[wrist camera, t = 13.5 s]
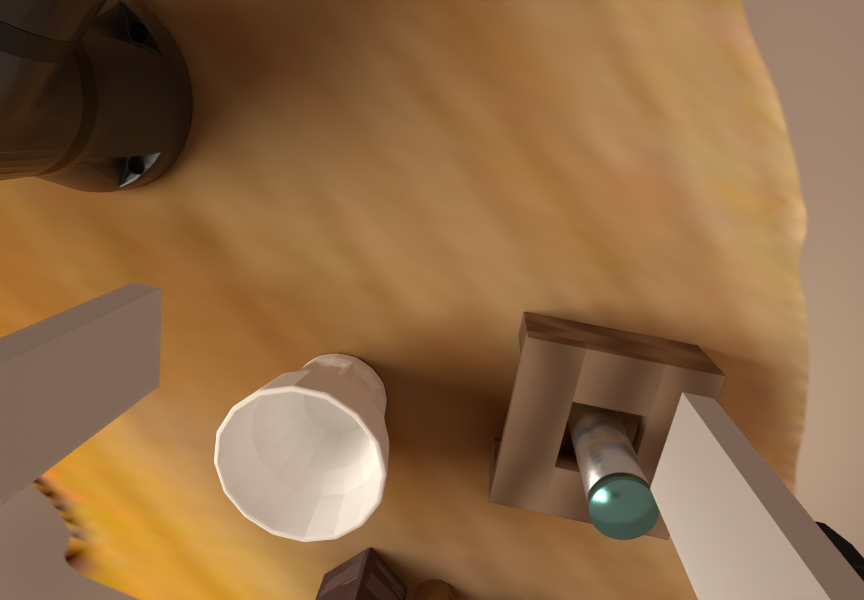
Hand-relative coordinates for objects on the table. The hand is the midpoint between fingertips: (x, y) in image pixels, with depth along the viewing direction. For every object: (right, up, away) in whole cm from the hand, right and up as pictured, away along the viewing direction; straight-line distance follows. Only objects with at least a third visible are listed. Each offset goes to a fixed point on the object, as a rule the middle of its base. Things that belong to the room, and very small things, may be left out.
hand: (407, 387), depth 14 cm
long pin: (+14, -7, +34) cm, 37 cm away
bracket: (+14, -7, +34) cm, 37 cm away
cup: (-7, -6, +36) cm, 37 cm away
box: (-6, -25, +42) cm, 49 cm away
